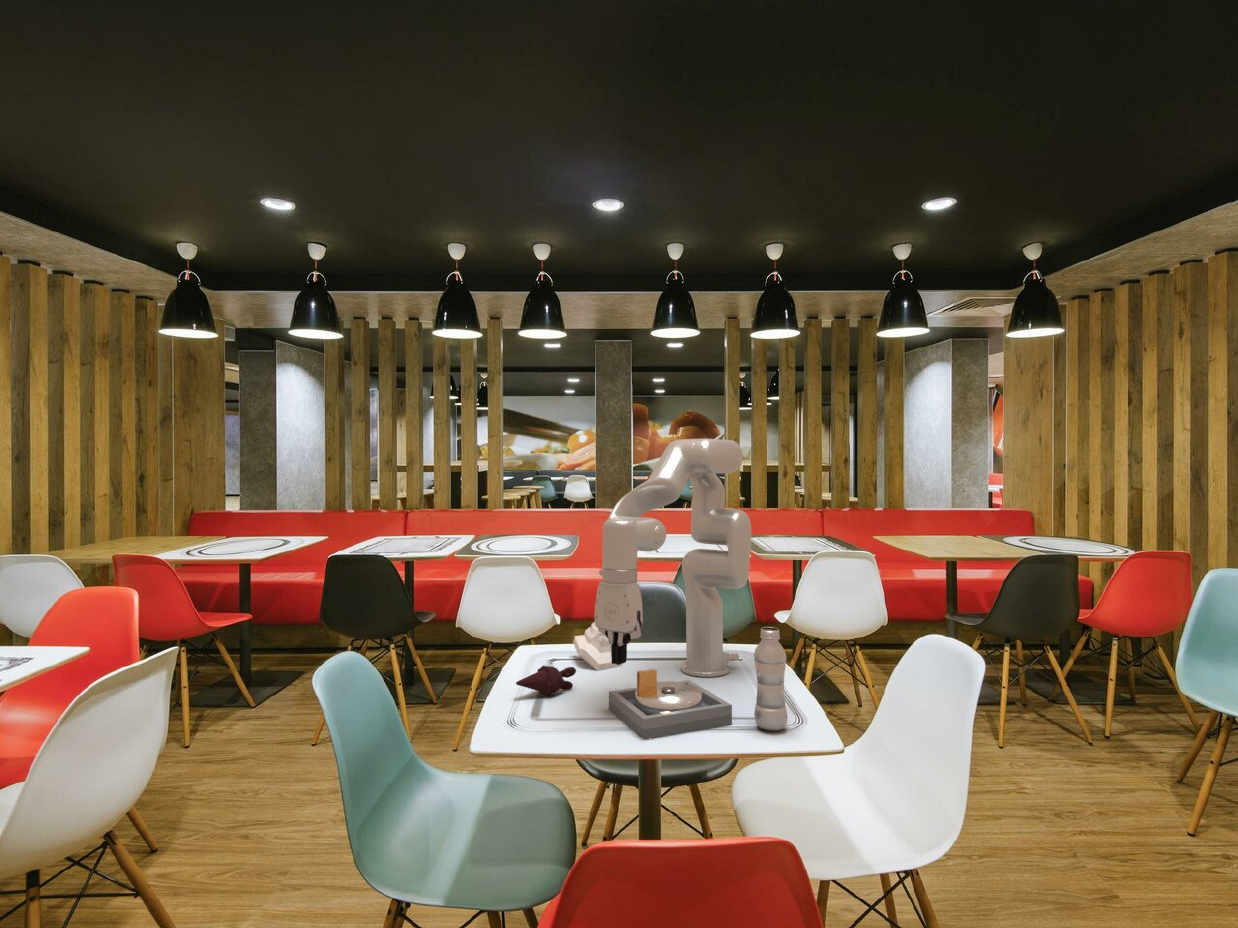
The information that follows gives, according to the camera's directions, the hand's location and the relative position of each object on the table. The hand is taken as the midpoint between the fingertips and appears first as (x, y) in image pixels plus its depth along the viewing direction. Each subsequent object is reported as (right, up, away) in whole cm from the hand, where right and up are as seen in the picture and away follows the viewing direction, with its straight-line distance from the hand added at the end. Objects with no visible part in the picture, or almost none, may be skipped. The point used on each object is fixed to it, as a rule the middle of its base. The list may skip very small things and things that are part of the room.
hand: (618, 662), depth 142 cm
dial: (+11, -9, -1) cm, 14 cm away
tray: (+11, -11, -1) cm, 15 cm away
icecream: (-17, -12, +14) cm, 25 cm away
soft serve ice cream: (-6, -12, +40) cm, 42 cm away
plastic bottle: (+31, -11, -8) cm, 34 cm away
